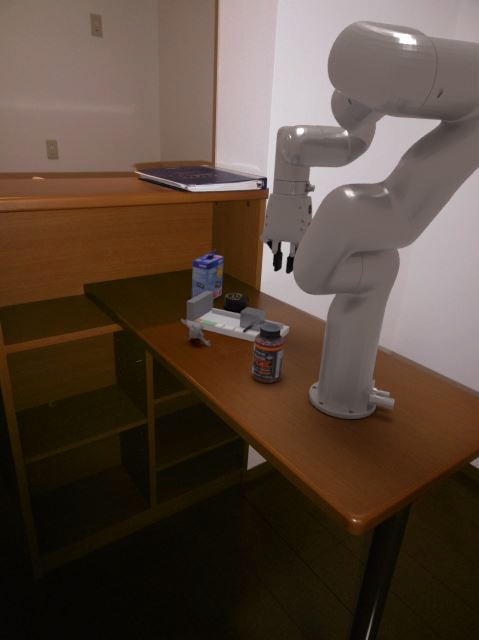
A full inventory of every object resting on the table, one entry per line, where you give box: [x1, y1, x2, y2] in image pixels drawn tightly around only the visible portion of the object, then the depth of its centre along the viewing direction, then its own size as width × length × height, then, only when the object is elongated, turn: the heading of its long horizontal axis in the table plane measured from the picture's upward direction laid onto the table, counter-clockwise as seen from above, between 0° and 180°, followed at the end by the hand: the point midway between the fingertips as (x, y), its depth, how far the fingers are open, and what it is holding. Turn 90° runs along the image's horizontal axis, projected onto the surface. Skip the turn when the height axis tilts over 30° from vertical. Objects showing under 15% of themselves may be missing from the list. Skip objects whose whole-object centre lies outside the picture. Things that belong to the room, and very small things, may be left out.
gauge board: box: [186, 291, 290, 343], centre depth 114 cm, size 24×10×6 cm, turn 64°
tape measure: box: [223, 292, 250, 311], centre depth 128 cm, size 7×7×4 cm
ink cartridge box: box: [191, 249, 225, 300], centre depth 133 cm, size 10×6×14 cm, turn 155°
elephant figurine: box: [180, 317, 211, 347], centre depth 107 cm, size 9×5×8 cm
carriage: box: [239, 306, 267, 332], centre depth 112 cm, size 5×7×4 cm
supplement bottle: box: [251, 323, 285, 384], centre depth 91 cm, size 6×6×11 cm
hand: (283, 270), depth 105 cm, fingers closed
